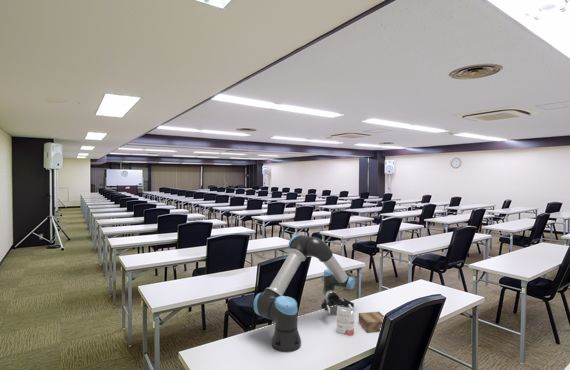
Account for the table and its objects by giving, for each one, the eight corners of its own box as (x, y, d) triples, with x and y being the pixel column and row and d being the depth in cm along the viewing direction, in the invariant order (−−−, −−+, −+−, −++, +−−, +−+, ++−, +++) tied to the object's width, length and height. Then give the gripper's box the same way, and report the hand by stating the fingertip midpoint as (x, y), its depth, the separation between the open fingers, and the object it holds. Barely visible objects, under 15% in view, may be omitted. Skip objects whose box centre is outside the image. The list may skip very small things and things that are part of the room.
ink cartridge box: (354, 332, 180) (353, 305, 179) (351, 335, 175) (351, 309, 175) (339, 328, 184) (339, 303, 183) (336, 332, 179) (336, 306, 179)
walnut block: (367, 333, 178) (367, 322, 178) (358, 323, 191) (358, 313, 191) (389, 331, 180) (389, 320, 180) (379, 321, 193) (379, 311, 193)
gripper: (351, 302, 211) (361, 316, 190) (313, 304, 209) (320, 318, 188) (351, 291, 211) (361, 303, 190) (313, 293, 209) (320, 305, 188)
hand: (340, 311), depth 189 cm, fingers open, 13 cm apart
